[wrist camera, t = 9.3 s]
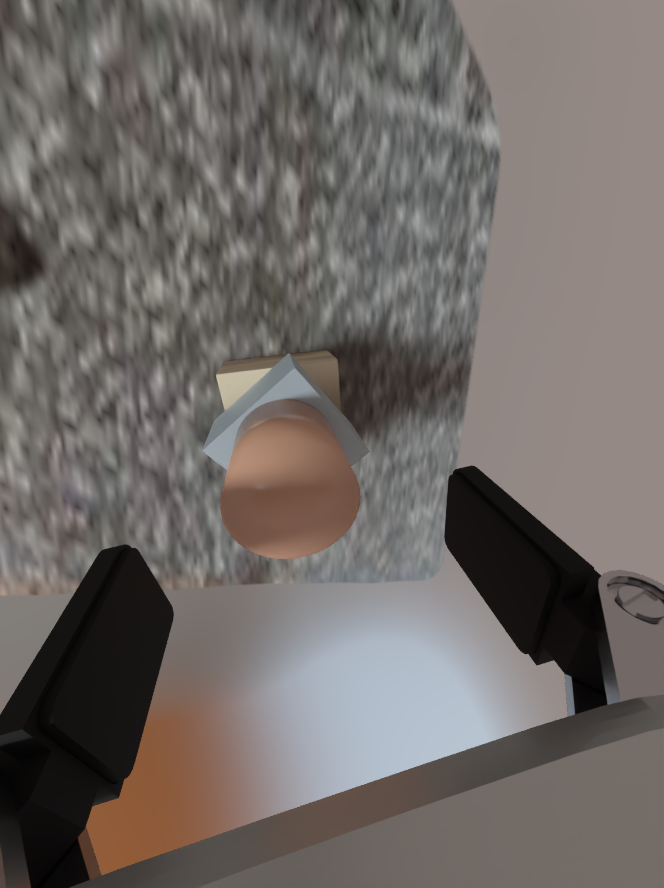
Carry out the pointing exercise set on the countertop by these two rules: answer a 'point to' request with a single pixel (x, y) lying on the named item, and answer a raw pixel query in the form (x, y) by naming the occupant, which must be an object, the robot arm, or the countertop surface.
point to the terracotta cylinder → (288, 483)
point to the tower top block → (278, 385)
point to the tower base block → (249, 371)
